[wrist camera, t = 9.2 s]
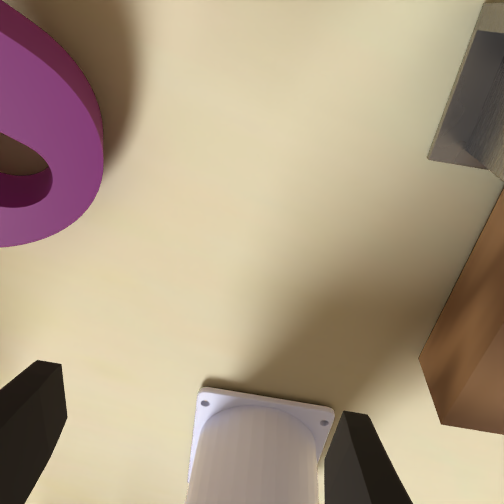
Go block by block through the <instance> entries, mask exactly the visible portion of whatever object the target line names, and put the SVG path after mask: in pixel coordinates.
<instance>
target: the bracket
mask: <svg viewBox="0 0 504 504" xmlns="http://www.w3.org/2000/svg"><path fill="white" fill-rule="evenodd" d="M427 158H428V159H429V160H433V161H439V162H445V163H451V164H457V165H463V166H469V167H475V168H481V169H487V170H490V171H491V172H492V173H494V174H495V175H496V176H497V177H499V178H500V179H501V180H502V181H503V182H504V3H484V4H483V6H482V9H481V12H480V14H479V17H478V20H477V23H476V25H475V28H474V31H473V34H472V36H471V39H470V42H469V44H468V47H467V50H466V53H465V55H464V58H463V61H462V63H461V66H460V69H459V72H458V74H457V77H456V80H455V82H454V85H453V88H452V91H451V93H450V96H449V99H448V101H447V104H446V107H445V110H444V112H443V115H442V118H441V120H440V123H439V126H438V129H437V131H436V134H435V137H434V139H433V142H432V145H431V148H430V150H429V153H428V156H427Z"/></svg>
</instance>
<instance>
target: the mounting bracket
mask: <svg viewBox="0 0 504 504" xmlns="http://www.w3.org/2000/svg"><path fill="white" fill-rule="evenodd" d="M0 132H1V133H3V134H5V135H7V136H9V137H11V138H12V139H14V140H16V141H18V142H20V143H22V144H24V145H26V146H28V147H30V148H31V149H33V150H34V151H36V152H37V153H38V154H39V155H40V156H41V157H42V158H43V159H44V160H45V161H46V162H47V164H48V165H49V167H47V168H46V169H45V170H43V171H41V172H39V173H36V174H33V175H27V176H15V175H9V174H4V173H1V172H0V247H10V246H17V245H23V244H27V243H31V242H35V241H38V240H41V239H44V238H47V237H49V236H51V235H54V234H56V233H58V232H59V231H61V230H63V229H65V228H66V227H68V226H69V225H71V224H72V223H74V222H75V221H76V220H77V219H78V218H79V217H80V216H82V214H83V213H84V212H85V211H86V210H87V209H88V208H89V206H90V205H91V203H92V202H93V200H94V198H95V196H96V194H97V192H98V190H99V187H100V184H101V180H102V175H103V124H102V117H101V113H100V108H99V105H98V102H97V100H96V97H95V94H94V92H93V90H92V88H91V86H90V84H89V82H88V81H87V79H86V77H85V76H84V74H83V72H82V71H81V70H80V68H79V67H78V66H77V64H76V63H75V62H74V60H73V59H72V58H71V57H70V56H69V54H68V53H67V52H66V51H65V50H64V49H63V48H62V47H61V46H60V45H59V44H58V43H57V42H56V41H55V40H54V39H53V38H52V37H51V36H49V35H48V34H47V33H46V32H45V31H43V30H42V29H41V28H39V27H38V26H37V25H36V24H34V23H33V22H32V21H30V20H29V19H27V18H26V17H25V16H23V15H22V14H20V13H19V12H18V11H16V10H15V9H13V8H12V7H11V6H9V5H8V4H6V3H5V2H4V1H2V0H0Z"/></svg>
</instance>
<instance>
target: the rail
mask: <svg viewBox="0 0 504 504" xmlns="http://www.w3.org/2000/svg"><path fill="white" fill-rule="evenodd" d="M419 361H420V364H421V367H422V370H423V373H424V376H425V379H426V382H427V385H428V388H429V391H430V394H431V396H432V399H433V402H434V405H435V408H436V411H437V414H438V417H439V420H440V423H441V424H442V425H448V426H454V427H460V428H466V429H472V430H478V431H484V432H490V433H497V434H503V435H504V189H503V191H502V193H501V195H500V197H499V199H498V201H497V203H496V205H495V207H494V209H493V211H492V213H491V215H490V217H489V219H488V221H487V223H486V225H485V227H484V229H483V231H482V233H481V235H480V237H479V239H478V241H477V243H476V245H475V247H474V249H473V251H472V253H471V255H470V257H469V259H468V261H467V263H466V265H465V267H464V269H463V271H462V273H461V275H460V277H459V279H458V281H457V283H456V285H455V287H454V289H453V291H452V293H451V295H450V297H449V299H448V301H447V303H446V305H445V307H444V309H443V310H442V312H441V314H440V316H439V318H438V320H437V322H436V324H435V326H434V328H433V330H432V332H431V334H430V336H429V338H428V340H427V342H426V344H425V346H424V348H423V350H422V352H421V354H420V356H419Z"/></svg>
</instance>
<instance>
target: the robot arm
mask: <svg viewBox="0 0 504 504" xmlns="http://www.w3.org/2000/svg"><path fill="white" fill-rule="evenodd" d="M204 400H206V401H204ZM334 419H335V413H334V410H333V409H332V408H330V407H326V406H320V405H314V404H308V403H302V402H296V401H290V400H284V399H278V398H272V397H266V396H260V395H254V394H248V393H242V392H235V391H229V390H223V389H217V388H211V387H202V388H200V389H199V391H198V395H197V404H196V412H195V421H194V429H193V438H192V446H191V455H190V464H189V472H188V483H189V486H188V490H187V495H186V500H185V504H319V492H318V475H317V464H318V461H319V459H320V456H321V453H322V451H323V448H324V445H325V443H326V440H327V437H328V435H329V432H330V429H331V427H332V424H333V421H334ZM66 420H67V409H66V400H65V392H64V383H63V375H62V366H61V364H58V363H52V362H46V361H40V360H37V361H35V362H34V363H32V364H31V365H30V366H29V367H28V368H26V369H25V370H24V371H23V372H21V373H20V374H19V375H18V376H16V377H15V378H14V379H13V380H12V381H10V382H9V383H8V384H7V385H5V386H4V387H3V388H2V389H1V390H0V504H25V502H26V500H27V498H28V497H29V495H30V493H31V491H32V490H33V488H34V486H35V484H36V482H37V481H38V479H39V477H40V475H41V473H42V472H43V470H44V468H45V466H46V465H47V463H48V461H49V459H50V457H51V455H52V453H53V450H54V448H55V446H56V444H57V441H58V439H59V437H60V434H61V432H62V429H63V427H64V425H65V422H66ZM324 484H325V504H413V503H412V501H411V499H410V497H409V495H408V494H407V492H406V490H405V488H404V486H403V484H402V483H401V481H400V479H399V477H398V475H397V473H396V471H395V469H394V467H393V465H392V463H391V461H390V459H389V457H388V455H387V453H386V451H385V449H384V447H383V445H382V443H381V441H380V439H379V436H378V434H377V432H376V430H375V428H374V426H373V424H372V421H371V419H370V418H369V416H368V415H367V414H361V413H355V412H348V411H343V413H342V416H341V418H340V421H339V423H338V426H337V429H336V431H335V434H334V436H333V439H332V442H331V444H330V447H329V449H328V452H327V455H326V457H325V466H324Z"/></svg>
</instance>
